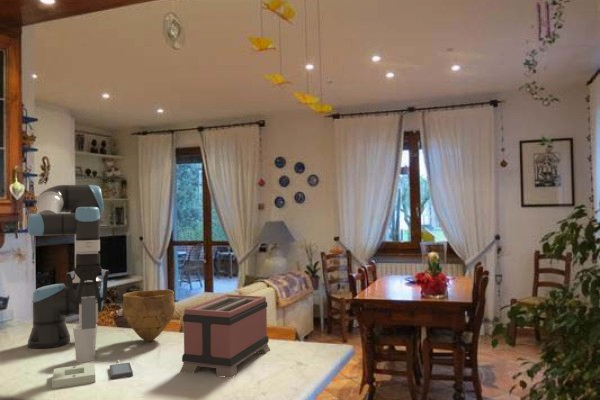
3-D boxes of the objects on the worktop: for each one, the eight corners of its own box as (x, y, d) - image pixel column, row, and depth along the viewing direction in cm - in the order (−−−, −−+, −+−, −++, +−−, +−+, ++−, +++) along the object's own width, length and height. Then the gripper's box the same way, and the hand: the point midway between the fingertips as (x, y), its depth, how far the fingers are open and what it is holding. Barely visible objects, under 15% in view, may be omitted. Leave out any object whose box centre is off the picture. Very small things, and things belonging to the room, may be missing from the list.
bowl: (112, 343, 195) (111, 293, 195) (153, 332, 212) (152, 286, 212) (145, 351, 183) (144, 298, 183) (185, 339, 200) (185, 290, 200)
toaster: (273, 348, 186) (273, 294, 186) (231, 378, 154) (230, 313, 154) (229, 343, 193) (228, 292, 193) (179, 371, 161) (179, 309, 161)
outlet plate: (54, 376, 158) (54, 368, 158) (94, 370, 163) (94, 362, 163) (52, 388, 147) (52, 380, 147) (95, 382, 152) (95, 373, 152)
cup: (88, 363, 170) (88, 329, 170) (68, 362, 172) (68, 328, 172) (102, 356, 178) (101, 323, 178) (82, 355, 179) (82, 322, 180)
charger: (81, 326, 163) (81, 296, 164) (95, 325, 165) (94, 295, 165) (81, 329, 160) (81, 298, 160) (95, 328, 161) (95, 297, 162)
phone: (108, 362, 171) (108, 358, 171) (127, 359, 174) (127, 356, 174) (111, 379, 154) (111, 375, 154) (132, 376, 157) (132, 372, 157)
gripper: (59, 254, 156) (59, 327, 155) (116, 252, 163) (116, 321, 163) (59, 253, 163) (59, 323, 162) (114, 250, 170) (114, 317, 170)
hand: (88, 322), depth 162 cm, fingers closed on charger, 4 cm apart
